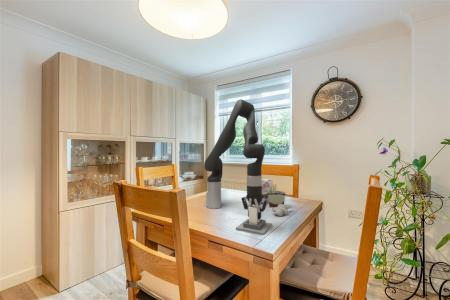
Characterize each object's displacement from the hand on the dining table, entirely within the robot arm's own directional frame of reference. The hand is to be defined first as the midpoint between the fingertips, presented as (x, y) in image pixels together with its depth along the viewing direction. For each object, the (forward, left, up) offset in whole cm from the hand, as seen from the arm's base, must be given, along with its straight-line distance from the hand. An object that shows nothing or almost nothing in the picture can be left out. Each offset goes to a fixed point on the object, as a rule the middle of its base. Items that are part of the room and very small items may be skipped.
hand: (254, 218), depth 108 cm
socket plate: (0, 0, -5) cm, 5 cm away
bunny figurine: (+6, +29, -5) cm, 30 cm away
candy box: (-12, +47, -5) cm, 49 cm away
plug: (0, 0, -2) cm, 2 cm away
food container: (-1, +42, -5) cm, 42 cm away
